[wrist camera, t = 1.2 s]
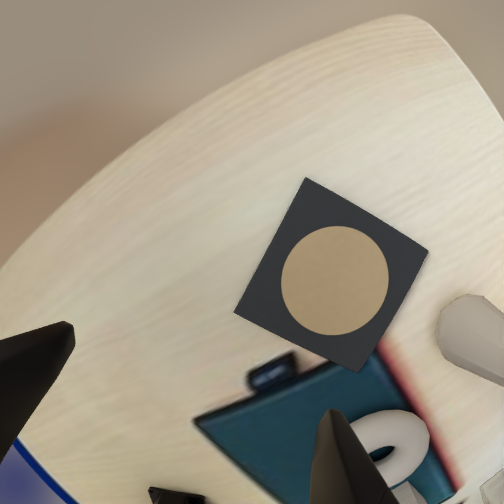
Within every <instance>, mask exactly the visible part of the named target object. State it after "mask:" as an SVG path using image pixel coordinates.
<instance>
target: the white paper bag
mask: <svg viewBox="0 0 504 504" xmlns="http://www.w3.org/2000/svg"><path fill="white" fill-rule="evenodd" d="M391 491H392V492H393V494H394V496H395V497H396V498H397V500H398V501H399V503H400V504H427V502H426V500H425V499H424V498H423V497H422V495H421V494H420V493H419V492H418V491H417V490H416V489H415V488H414V487H413V486H412V485H411V484H410V483H409V482H408V481H406V482H405V483H403V484H401V485H400V486H398V487H396V488H395V489H393V490H391Z"/></svg>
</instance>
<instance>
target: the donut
mask: <svg viewBox="0 0 504 504" xmlns="http://www.w3.org/2000/svg"><path fill="white" fill-rule="evenodd" d="M350 426H351V427H352V429H353V430H354V432H355V434H356V435H357V437H358V438H359V440H360V442H361V443H362V445H363V446H364V448H365V450H366V451H367V453H368V454H369V453H370V452H372V451H374V450H376V449H378V448H381V447H384V446H395V448H394V450H393V451H392V452H391V453H390V454H389V455H388V456H386V457H385V458H383V459H381V460H379V461H375V462H374V464H375V466H376V467H377V469H378V470H379V472H380V474H381V475H382V477H383V478H384V480H385V481H386V483H387V485H388V487H389V488H390V487H392V486H394V485H396V484H398V483H399V482H401V481H403V480H404V479H405V478H407V477H408V476H409V475H411V474H412V473H413V472H414V471H415V469H416V468H417V467H418V466H419V465H420V464H421V462H422V461H423V459H424V457H425V455H426V453H427V451H428V445H429V436H430V435H429V433H428V430H427V427H426V425H425V422H423V421H422V420H421V419H420V418H419V417H417V416H416V415H415V414H414V413H410V412H406V411H402V410H398V409H397V410H382V411H379V412H375V413H372V414H369V415H366V416H364V417H362V418H360V419H358V420H356V421H354V422H352V423H351V424H350Z"/></svg>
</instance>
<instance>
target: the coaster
mask: <svg viewBox="0 0 504 504" xmlns="http://www.w3.org/2000/svg"><path fill="white" fill-rule="evenodd" d="M427 253H428V250H427V249H425V248H424V247H422V246H421V245H419V244H418V243H416V242H415V241H413V240H412V239H410V238H409V237H407V236H405V235H404V234H402V233H401V232H399V231H398V230H396V229H394V228H393V227H391V226H390V225H388V224H386V223H385V222H383V221H382V220H380V219H378V218H377V217H375V216H373V215H372V214H370V213H368V212H367V211H365V210H363V209H362V208H360V207H358V206H356V205H355V204H353V203H351V202H350V201H348V200H346V199H344V198H343V197H341V196H339V195H337V194H336V193H334V192H332V191H330V190H328V189H327V188H325V187H323V186H321V185H319V184H317V183H316V182H314V181H312V180H310V179H308V178H306V177H305V179H304V181H303V183H302V185H301V186H300V188H299V190H298V192H297V194H296V196H295V198H294V200H293V202H292V204H291V206H290V207H289V209H288V211H287V213H286V215H285V217H284V219H283V221H282V223H281V225H280V226H279V228H278V230H277V232H276V234H275V236H274V238H273V240H272V242H271V243H270V245H269V247H268V249H267V251H266V253H265V255H264V257H263V259H262V260H261V262H260V264H259V266H258V268H257V270H256V272H255V274H254V275H253V277H252V279H251V281H250V283H249V285H248V287H247V288H246V290H245V292H244V294H243V296H242V298H241V300H240V302H239V303H238V305H237V307H236V309H235V311H234V313H235V314H237V315H239V316H241V317H243V318H245V319H247V320H249V321H251V322H253V323H255V324H257V325H259V326H260V327H262V328H264V329H266V330H268V331H270V332H272V333H274V334H276V335H278V336H280V337H282V338H284V339H286V340H288V341H290V342H292V343H295V344H297V345H299V346H301V347H303V348H305V349H307V350H309V351H311V352H313V353H315V354H317V355H320V356H322V357H324V358H326V359H328V360H330V361H332V362H335V363H337V364H339V365H341V366H343V367H346V368H348V369H350V370H352V371H354V372H357V373H358V372H359V371H360V369H361V368H362V366H363V365H364V364H365V362H366V361H367V359H368V357H369V356H370V354H371V353H372V351H373V350H374V348H375V347H376V345H377V344H378V342H379V340H380V339H381V337H382V336H383V334H384V332H385V331H386V329H387V327H388V326H389V324H390V322H391V321H392V319H393V317H394V316H395V314H396V312H397V310H398V309H399V307H400V305H401V303H402V302H403V300H404V298H405V296H406V294H407V292H408V291H409V289H410V287H411V285H412V283H413V281H414V279H415V277H416V275H417V273H418V271H419V270H420V268H421V266H422V264H423V261H424V259H425V257H426V255H427Z"/></svg>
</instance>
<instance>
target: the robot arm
mask: <svg viewBox="0 0 504 504" xmlns="http://www.w3.org/2000/svg"><path fill="white" fill-rule="evenodd" d="M74 347H75V334H74V327H73V325H72V324H69V323H67V322H65V321H61V322H58V323H54V324H51V325H48V326H45V327H42V328H38V329H35V330H32V331H29V332H25V333H22V334H19V335H16V336H12V337H9V338H6V339H2V340H0V464H1V462H2V460H3V459H4V458H3V457H5V455H6V453H7V451H8V450H9V449H10V447H11V445H12V444H13V442H14V441H15V439H16V438H17V436H18V434H19V433H20V431H21V430H22V428H23V427H24V425H25V424H26V422H27V421H28V419H29V418H30V416H31V415H32V413H33V412H34V410H35V409H36V407H37V406H38V405H39V403H40V402H41V400H42V399H43V397H44V396H45V395H46V393H47V392H48V390H49V389H50V387H51V386H52V385H53V383H54V382H55V380H56V379H57V377H58V376H59V374H60V372H61V370H62V368H63V367H64V365H65V363H66V361H67V360H68V358H69V356H70V355H71V353H72V351H73V349H74ZM148 492H149V495H150V497H151V500H152V502H153V504H206V501H205V497H203V496H201V495H195V494H188V493H181V492H175V491H169V490H164V489H159V488H154V487H150V488H149V489H148ZM309 504H400V503H399V501H398V500H397V498H396V497H395V496H394V494H393V492H392V491H391V489H390V488H389V487H388V485H387V483H386V481H385V480H384V478H383V477H382V475H381V474H380V472H379V470H378V469H377V467H376V466H375V464H374V462H373V461H372V459H371V458H370V456H369V454H368V453H367V451H366V450H365V448H364V446H363V445H362V443H361V442H360V440H359V438H358V437H357V435H356V434H355V432H354V430H353V429H352V427H351V426H350V424H349V422H348V421H347V419H346V418H345V416H344V414H343V413H342V411H340V410H336V409H328V410H327V412H326V413H325V415H324V416H323V418H322V419H321V421H320V422H319V424H318V428H317V434H316V440H315V447H314V453H313V459H312V466H311V483H310V502H309Z"/></svg>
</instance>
